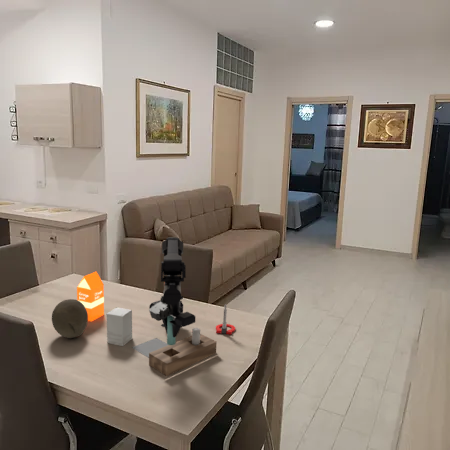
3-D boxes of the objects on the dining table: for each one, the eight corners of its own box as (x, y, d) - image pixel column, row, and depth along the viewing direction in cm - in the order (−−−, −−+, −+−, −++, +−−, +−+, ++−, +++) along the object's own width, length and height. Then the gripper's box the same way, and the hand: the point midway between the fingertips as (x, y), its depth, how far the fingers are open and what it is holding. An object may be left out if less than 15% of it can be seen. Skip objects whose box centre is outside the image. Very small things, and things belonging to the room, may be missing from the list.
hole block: (149, 365, 152) (149, 353, 151) (198, 344, 169) (198, 332, 168) (166, 377, 145) (167, 363, 144) (216, 353, 162) (216, 341, 161)
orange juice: (77, 318, 189) (76, 275, 185) (90, 311, 197) (89, 269, 193) (91, 321, 186) (90, 278, 182) (104, 314, 194) (103, 272, 190)
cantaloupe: (95, 331, 177) (94, 296, 174) (76, 346, 164) (75, 309, 161) (65, 326, 180) (63, 293, 177) (44, 341, 167) (42, 305, 164)
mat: (131, 348, 164) (131, 347, 164) (156, 338, 172) (156, 337, 172) (150, 359, 156) (150, 358, 156) (175, 349, 164) (175, 348, 164)
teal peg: (171, 340, 153) (172, 314, 151) (177, 343, 151) (177, 317, 149) (165, 343, 151) (165, 316, 149) (170, 346, 149) (171, 319, 147)
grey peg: (190, 354, 161) (190, 329, 159) (195, 351, 163) (196, 327, 161) (195, 357, 159) (196, 332, 157) (201, 354, 161) (201, 329, 159)
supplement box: (132, 339, 171) (132, 309, 169) (122, 347, 165) (122, 316, 162) (117, 335, 174) (116, 306, 171) (106, 343, 167) (105, 313, 164)
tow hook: (217, 325, 188) (213, 333, 179) (219, 297, 186) (215, 304, 177) (236, 327, 187) (233, 335, 178) (238, 299, 185) (235, 306, 176)
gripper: (136, 291, 148) (136, 333, 151) (171, 307, 135) (170, 352, 138) (162, 284, 156) (161, 324, 159) (197, 299, 143) (195, 341, 146)
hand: (171, 335), depth 150 cm, fingers closed on teal peg, 3 cm apart
